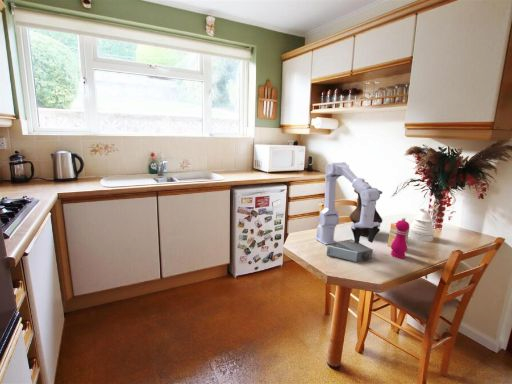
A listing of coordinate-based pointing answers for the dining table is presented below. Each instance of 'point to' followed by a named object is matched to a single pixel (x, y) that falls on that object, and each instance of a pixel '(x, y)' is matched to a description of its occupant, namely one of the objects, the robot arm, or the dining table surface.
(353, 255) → the side door
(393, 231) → the supplement box
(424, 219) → the honey pot
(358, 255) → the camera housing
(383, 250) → the dining table surface
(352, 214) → the jug
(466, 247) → the dining table surface
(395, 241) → the pepper mill
